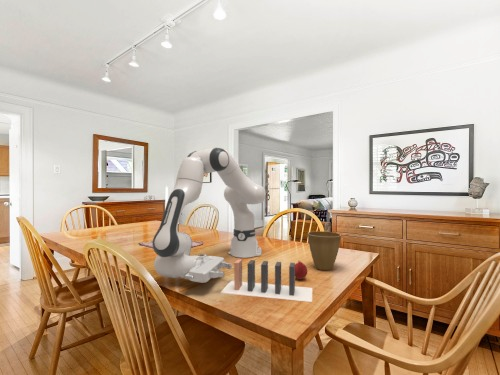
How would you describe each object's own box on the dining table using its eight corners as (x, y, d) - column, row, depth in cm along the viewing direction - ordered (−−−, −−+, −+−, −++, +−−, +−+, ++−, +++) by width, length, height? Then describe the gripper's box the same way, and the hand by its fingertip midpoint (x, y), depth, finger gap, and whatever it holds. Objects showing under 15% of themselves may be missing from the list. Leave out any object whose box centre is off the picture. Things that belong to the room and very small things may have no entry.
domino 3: (276, 288, 99) (276, 261, 99) (281, 288, 98) (281, 261, 98) (275, 293, 94) (274, 265, 94) (279, 294, 94) (279, 266, 93)
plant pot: (343, 274, 114) (343, 237, 114) (307, 272, 117) (307, 236, 117) (338, 264, 129) (338, 231, 129) (307, 262, 132) (307, 230, 132)
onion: (305, 277, 111) (305, 258, 111) (308, 282, 105) (308, 262, 105) (291, 277, 111) (291, 258, 111) (294, 282, 105) (294, 262, 105)
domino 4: (290, 289, 98) (290, 262, 97) (294, 290, 97) (294, 262, 97) (289, 295, 93) (289, 266, 93) (293, 295, 92) (293, 267, 92)
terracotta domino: (238, 284, 102) (238, 259, 102) (242, 285, 102) (242, 259, 102) (234, 289, 98) (234, 262, 97) (238, 290, 97) (238, 263, 97)
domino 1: (250, 286, 101) (250, 259, 101) (255, 286, 101) (254, 260, 101) (247, 291, 96) (247, 263, 96) (251, 291, 96) (251, 264, 96)
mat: (230, 281, 107) (230, 280, 107) (312, 288, 99) (312, 287, 99) (220, 293, 95) (220, 292, 95) (312, 302, 87) (312, 301, 87)
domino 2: (263, 287, 100) (263, 260, 100) (267, 287, 100) (267, 261, 99) (261, 292, 95) (261, 264, 95) (265, 292, 95) (265, 265, 95)
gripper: (181, 267, 94) (218, 270, 90) (204, 252, 114) (235, 254, 110) (181, 285, 94) (218, 289, 90) (204, 267, 114) (235, 270, 110)
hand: (227, 270), depth 101 cm, fingers open, 8 cm apart
